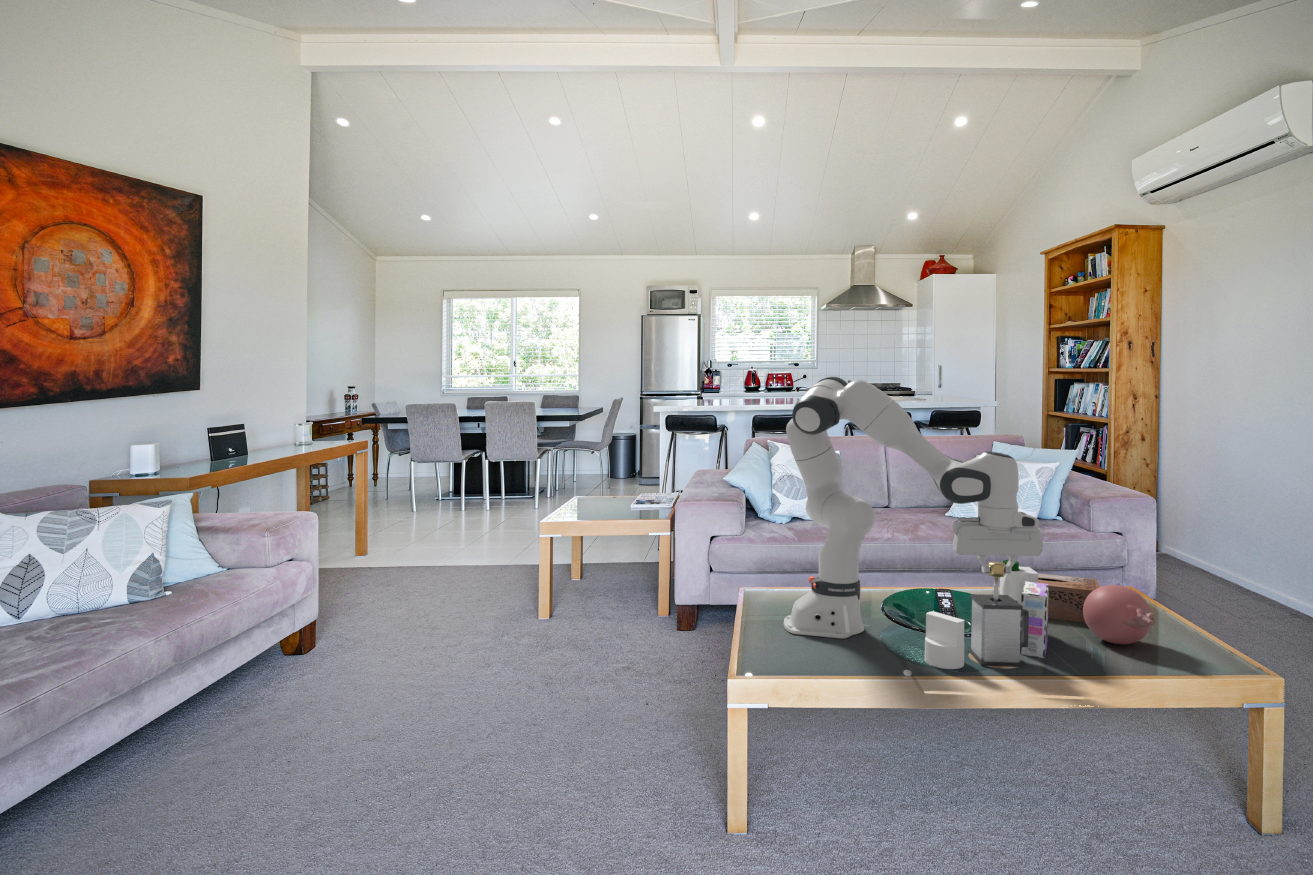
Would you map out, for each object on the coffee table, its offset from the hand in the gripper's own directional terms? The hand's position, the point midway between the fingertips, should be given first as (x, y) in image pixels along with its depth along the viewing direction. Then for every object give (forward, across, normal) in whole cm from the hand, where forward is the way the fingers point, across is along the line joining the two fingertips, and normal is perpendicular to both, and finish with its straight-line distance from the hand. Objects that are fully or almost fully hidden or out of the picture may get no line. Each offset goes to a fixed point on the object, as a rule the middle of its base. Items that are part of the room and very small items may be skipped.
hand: (996, 572), depth 170 cm
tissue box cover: (+23, +31, +43) cm, 58 cm away
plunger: (+14, 0, 0) cm, 14 cm away
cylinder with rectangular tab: (+23, -13, -3) cm, 26 cm away
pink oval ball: (+23, +37, +14) cm, 46 cm away
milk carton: (+23, +14, +22) cm, 35 cm away
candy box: (+23, +13, +9) cm, 28 cm away
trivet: (+22, 0, 0) cm, 22 cm away
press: (+22, +1, 0) cm, 22 cm away
